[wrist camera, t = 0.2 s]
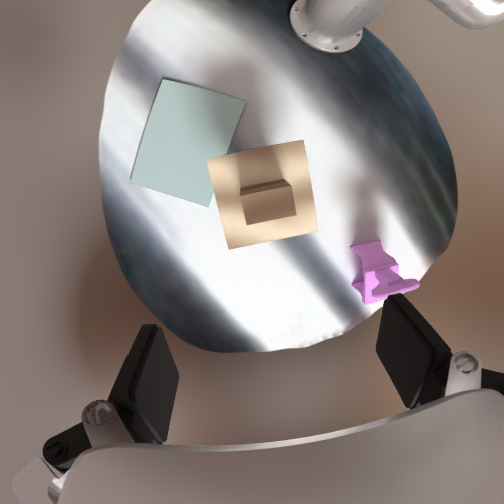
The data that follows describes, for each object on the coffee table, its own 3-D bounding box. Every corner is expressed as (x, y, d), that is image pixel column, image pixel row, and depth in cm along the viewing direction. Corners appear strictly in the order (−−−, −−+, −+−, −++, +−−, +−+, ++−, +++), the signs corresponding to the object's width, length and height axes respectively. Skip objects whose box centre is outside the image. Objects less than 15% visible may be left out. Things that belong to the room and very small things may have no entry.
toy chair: (346, 288, 51) (376, 336, 37) (344, 247, 48) (379, 288, 34) (384, 279, 51) (420, 322, 37) (384, 239, 47) (427, 274, 33)
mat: (163, 80, 36) (162, 79, 35) (246, 102, 38) (246, 101, 37) (131, 182, 42) (130, 182, 41) (208, 206, 44) (208, 207, 44)
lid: (207, 159, 30) (199, 162, 24) (301, 140, 29) (314, 139, 24) (229, 246, 34) (226, 267, 29) (316, 228, 34) (330, 246, 28)
